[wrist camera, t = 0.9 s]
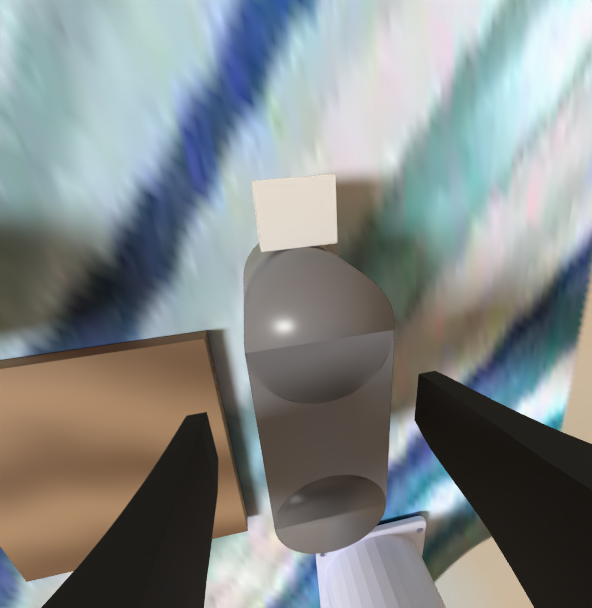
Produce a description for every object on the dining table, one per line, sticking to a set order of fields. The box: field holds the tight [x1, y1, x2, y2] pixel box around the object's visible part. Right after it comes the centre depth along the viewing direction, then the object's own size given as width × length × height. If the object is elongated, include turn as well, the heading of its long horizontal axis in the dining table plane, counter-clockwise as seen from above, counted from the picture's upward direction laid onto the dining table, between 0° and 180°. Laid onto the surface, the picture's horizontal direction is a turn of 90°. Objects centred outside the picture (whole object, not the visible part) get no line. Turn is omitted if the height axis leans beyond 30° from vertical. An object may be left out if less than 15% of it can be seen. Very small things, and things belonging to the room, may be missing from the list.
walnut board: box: [0, 331, 248, 582], centre depth 15 cm, size 13×12×1 cm
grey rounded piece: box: [244, 174, 395, 554], centre depth 11 cm, size 13×4×6 cm, turn 5°
